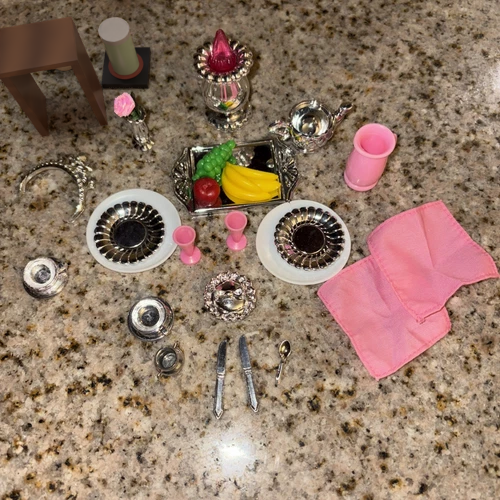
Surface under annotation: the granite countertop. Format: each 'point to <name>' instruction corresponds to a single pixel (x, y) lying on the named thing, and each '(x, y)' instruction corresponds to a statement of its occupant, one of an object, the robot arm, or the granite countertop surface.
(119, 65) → the jar
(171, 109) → the granite countertop surface
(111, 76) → the hob
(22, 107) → the brown wooden stool
